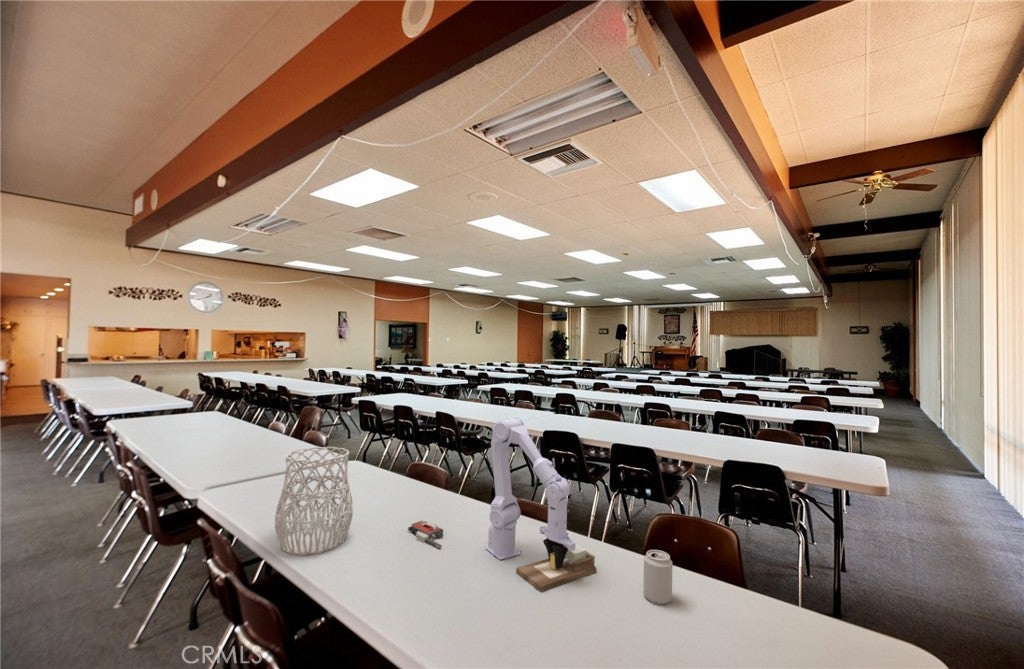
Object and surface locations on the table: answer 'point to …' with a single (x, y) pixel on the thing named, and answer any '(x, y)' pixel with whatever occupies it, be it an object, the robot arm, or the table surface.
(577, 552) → the block
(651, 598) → the can
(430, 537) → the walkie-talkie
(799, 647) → the table surface
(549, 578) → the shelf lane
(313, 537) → the vase
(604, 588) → the table surface
